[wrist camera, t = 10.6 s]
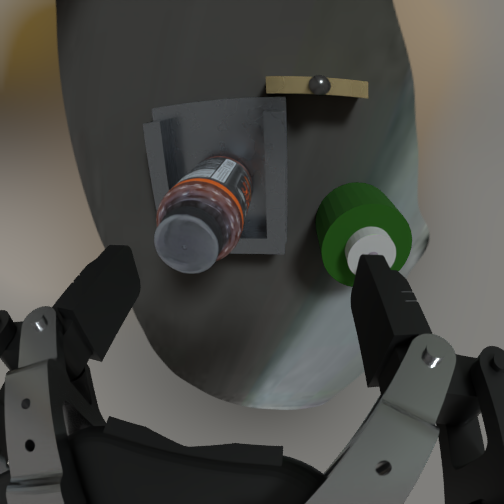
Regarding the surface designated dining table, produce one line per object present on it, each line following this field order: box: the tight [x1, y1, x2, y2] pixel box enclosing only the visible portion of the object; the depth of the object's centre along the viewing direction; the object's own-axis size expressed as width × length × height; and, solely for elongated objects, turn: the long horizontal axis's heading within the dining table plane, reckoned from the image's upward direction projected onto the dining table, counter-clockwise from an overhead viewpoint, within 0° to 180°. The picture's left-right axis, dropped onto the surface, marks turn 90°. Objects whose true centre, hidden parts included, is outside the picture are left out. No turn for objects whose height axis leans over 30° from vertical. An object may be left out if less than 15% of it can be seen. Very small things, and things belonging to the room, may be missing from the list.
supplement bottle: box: [154, 156, 253, 274], centre depth 21 cm, size 6×6×11 cm
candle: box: [315, 182, 412, 287], centre depth 23 cm, size 8×8×10 cm
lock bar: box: [266, 75, 368, 98], centre depth 19 cm, size 2×8×4 cm, turn 92°
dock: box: [143, 97, 287, 254], centre depth 24 cm, size 14×12×4 cm
